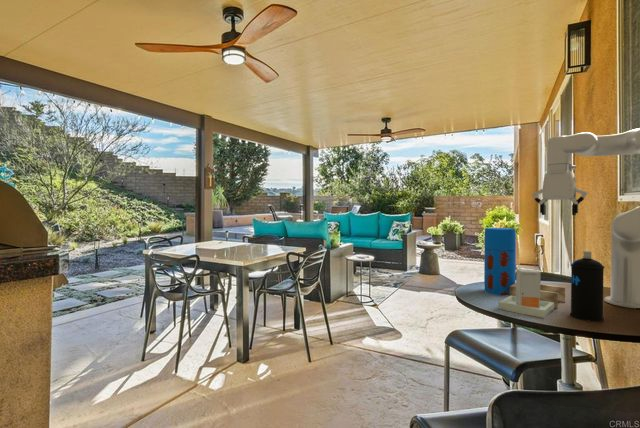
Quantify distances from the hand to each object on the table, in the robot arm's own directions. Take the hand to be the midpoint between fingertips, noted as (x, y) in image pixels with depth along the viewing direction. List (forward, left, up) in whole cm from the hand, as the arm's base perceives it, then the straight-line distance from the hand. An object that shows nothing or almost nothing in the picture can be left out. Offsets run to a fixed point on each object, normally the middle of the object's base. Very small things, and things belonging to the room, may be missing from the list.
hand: (558, 215), depth 130 cm
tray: (+3, +29, -30) cm, 42 cm away
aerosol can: (-12, +25, -31) cm, 42 cm away
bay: (+3, +15, -30) cm, 34 cm away
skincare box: (+3, +29, -30) cm, 42 cm away
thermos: (+17, +11, -31) cm, 37 cm away
